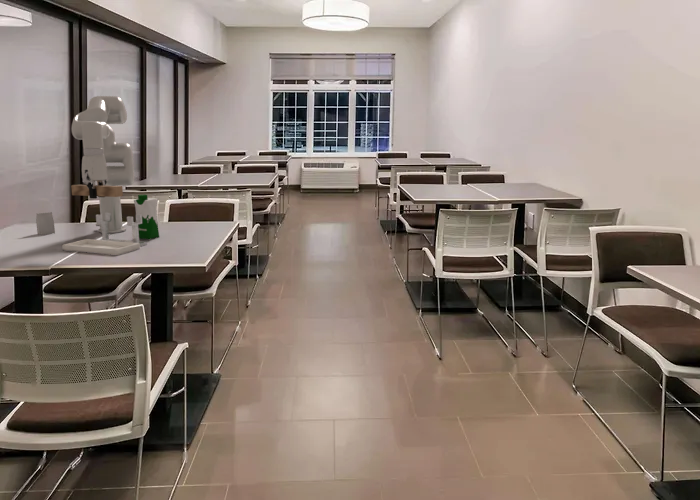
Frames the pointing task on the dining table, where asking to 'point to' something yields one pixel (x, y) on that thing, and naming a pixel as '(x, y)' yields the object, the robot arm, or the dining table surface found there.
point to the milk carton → (147, 217)
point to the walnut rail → (98, 190)
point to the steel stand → (129, 223)
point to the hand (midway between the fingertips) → (97, 197)
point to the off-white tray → (101, 246)
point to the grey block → (45, 223)
